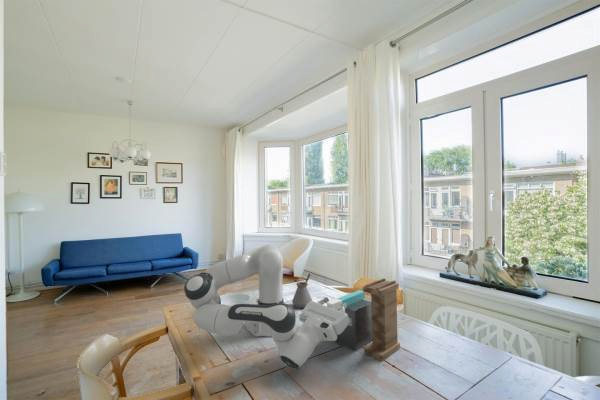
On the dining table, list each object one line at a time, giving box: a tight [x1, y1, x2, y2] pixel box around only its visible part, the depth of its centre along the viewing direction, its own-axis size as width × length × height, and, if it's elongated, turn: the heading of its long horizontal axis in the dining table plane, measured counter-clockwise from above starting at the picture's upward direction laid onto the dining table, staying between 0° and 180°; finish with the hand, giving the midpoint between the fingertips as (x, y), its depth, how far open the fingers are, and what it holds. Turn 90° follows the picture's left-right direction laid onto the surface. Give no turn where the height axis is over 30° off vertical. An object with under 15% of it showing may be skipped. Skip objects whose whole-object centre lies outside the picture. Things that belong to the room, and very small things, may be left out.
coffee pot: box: [291, 273, 313, 309], centre depth 165 cm, size 21×12×15 cm, turn 160°
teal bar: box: [326, 289, 366, 310], centre depth 118 cm, size 3×22×3 cm, turn 132°
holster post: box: [362, 277, 401, 362], centre depth 111 cm, size 8×13×27 cm, turn 132°
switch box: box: [334, 299, 372, 352], centre depth 120 cm, size 14×13×16 cm
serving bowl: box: [219, 292, 252, 306], centre depth 155 cm, size 21×21×7 cm
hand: (335, 301), depth 113 cm, fingers open, 8 cm apart
